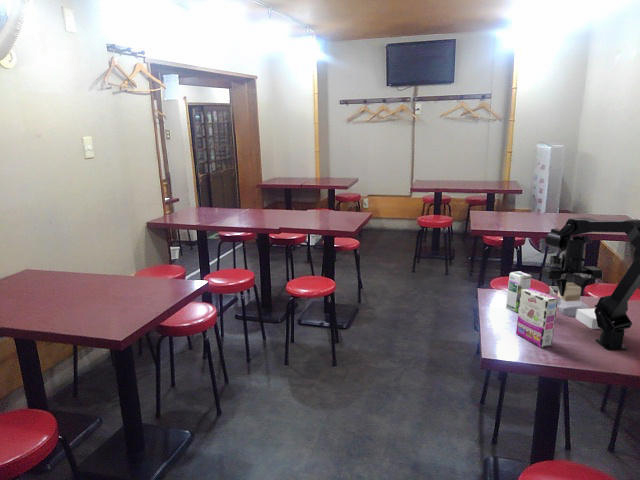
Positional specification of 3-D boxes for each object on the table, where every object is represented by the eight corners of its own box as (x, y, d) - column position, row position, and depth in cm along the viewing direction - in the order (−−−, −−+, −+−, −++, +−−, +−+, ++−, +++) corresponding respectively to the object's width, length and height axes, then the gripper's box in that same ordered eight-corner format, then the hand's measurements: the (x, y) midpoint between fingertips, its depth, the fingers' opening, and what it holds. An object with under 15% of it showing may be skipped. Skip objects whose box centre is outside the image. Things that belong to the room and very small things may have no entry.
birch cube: (579, 300, 157) (581, 287, 155) (565, 301, 157) (567, 287, 155) (571, 295, 162) (573, 282, 160) (557, 296, 161) (559, 282, 160)
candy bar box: (552, 345, 146) (559, 298, 142) (541, 348, 144) (547, 300, 140) (526, 331, 156) (531, 287, 152) (515, 333, 154) (519, 289, 150)
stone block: (562, 320, 169) (592, 317, 167) (561, 308, 168) (590, 305, 166) (552, 309, 180) (580, 306, 178) (551, 298, 179) (578, 294, 177)
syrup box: (505, 307, 176) (508, 272, 173) (516, 305, 179) (519, 270, 175) (516, 312, 171) (520, 276, 168) (528, 310, 174) (532, 274, 170)
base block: (615, 328, 158) (617, 318, 157) (591, 329, 158) (592, 319, 157) (598, 318, 167) (600, 308, 166) (575, 319, 166) (577, 309, 165)
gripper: (587, 246, 163) (581, 287, 167) (536, 247, 163) (531, 288, 166) (606, 255, 152) (600, 298, 156) (552, 256, 152) (547, 299, 156)
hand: (568, 295), depth 159 cm, fingers closed on birch cube, 5 cm apart
